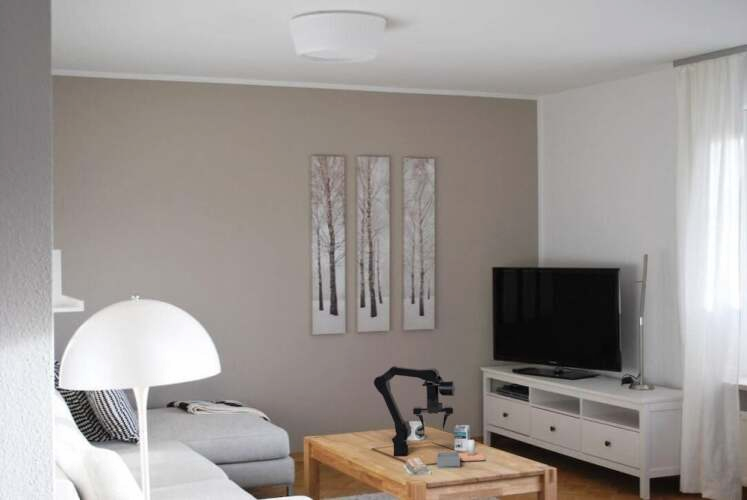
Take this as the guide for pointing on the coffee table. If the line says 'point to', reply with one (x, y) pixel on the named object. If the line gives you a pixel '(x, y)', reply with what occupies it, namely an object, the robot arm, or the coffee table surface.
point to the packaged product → (416, 467)
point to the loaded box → (448, 460)
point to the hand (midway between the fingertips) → (433, 428)
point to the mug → (416, 431)
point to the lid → (471, 453)
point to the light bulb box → (461, 437)
